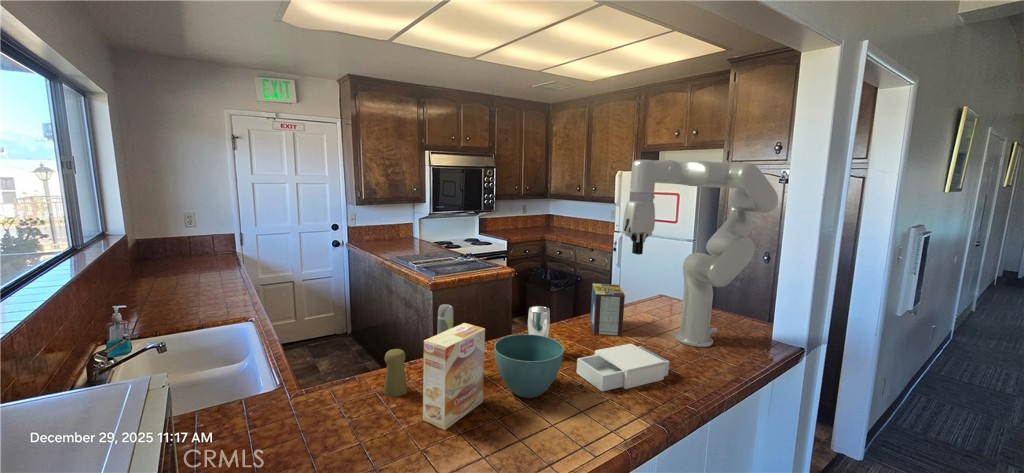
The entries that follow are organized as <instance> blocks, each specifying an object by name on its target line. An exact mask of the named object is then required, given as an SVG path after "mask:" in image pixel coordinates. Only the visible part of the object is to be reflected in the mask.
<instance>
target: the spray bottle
mask: <svg viewBox="0 0 1024 473" xmlns="http://www.w3.org/2000/svg"><path fill="white" fill-rule="evenodd" d="M437 310H438V311H437V328H436V329H437V331H436V332H437V334H436V335H438V334H440V333H442V332H444V331H447V330H449V329H451V328H454V327H455V326H454V325H455V323H454V322H455V321H454V320H455V319H454V308H453V306H452V305H450V304H447V303H443V304H440V305H439V307H438V309H437Z"/></svg>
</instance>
